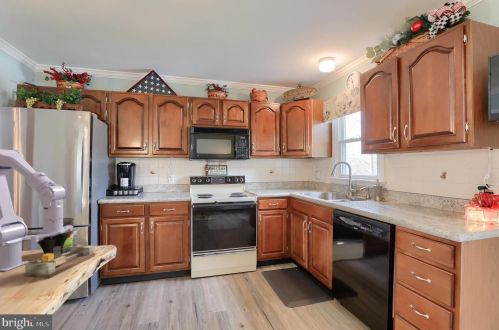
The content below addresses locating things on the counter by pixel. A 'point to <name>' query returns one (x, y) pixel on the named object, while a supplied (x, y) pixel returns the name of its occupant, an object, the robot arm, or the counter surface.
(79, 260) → the rail board
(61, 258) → the carriage
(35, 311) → the counter surface
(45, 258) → the button
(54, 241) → the robot arm
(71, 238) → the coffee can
